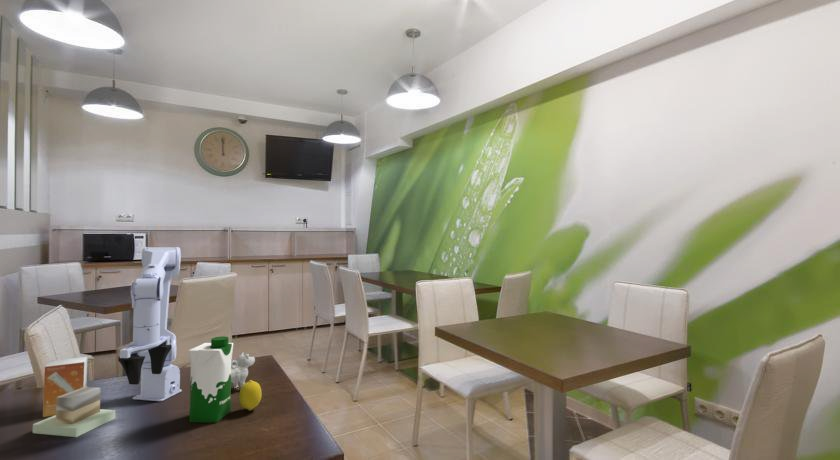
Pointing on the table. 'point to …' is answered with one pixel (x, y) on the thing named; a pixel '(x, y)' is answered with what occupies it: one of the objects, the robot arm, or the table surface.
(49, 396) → the small box
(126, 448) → the table surface
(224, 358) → the milk carton
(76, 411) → the cream layered block
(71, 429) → the stand
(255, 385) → the lemon
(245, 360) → the dog figurine
